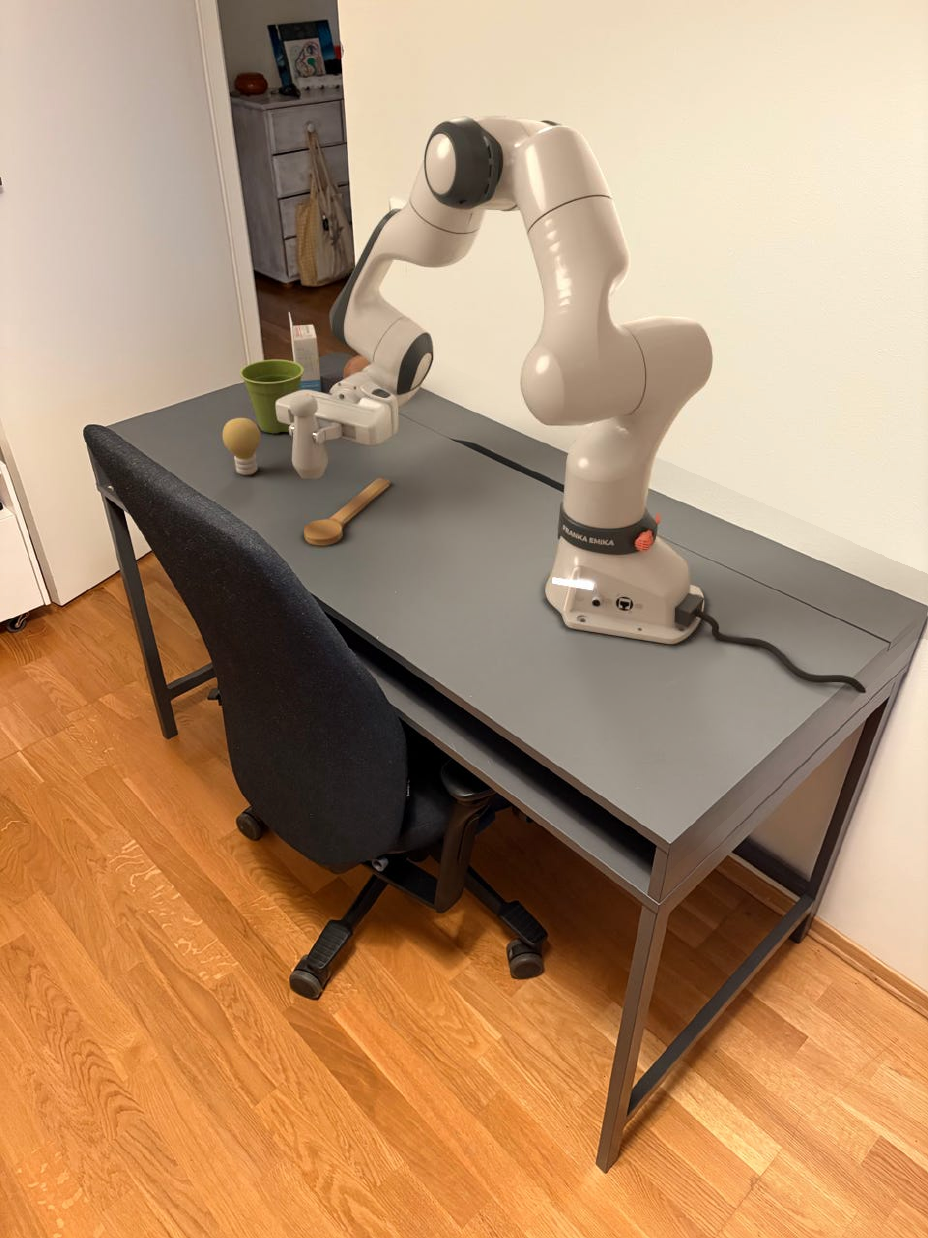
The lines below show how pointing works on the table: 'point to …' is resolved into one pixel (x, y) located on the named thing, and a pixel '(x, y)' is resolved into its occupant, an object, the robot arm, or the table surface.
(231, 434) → the light bulb
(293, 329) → the ink box
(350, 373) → the onion
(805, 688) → the table surface
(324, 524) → the wooden spoon
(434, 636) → the table surface
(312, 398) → the salt shaker
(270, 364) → the plant pot
